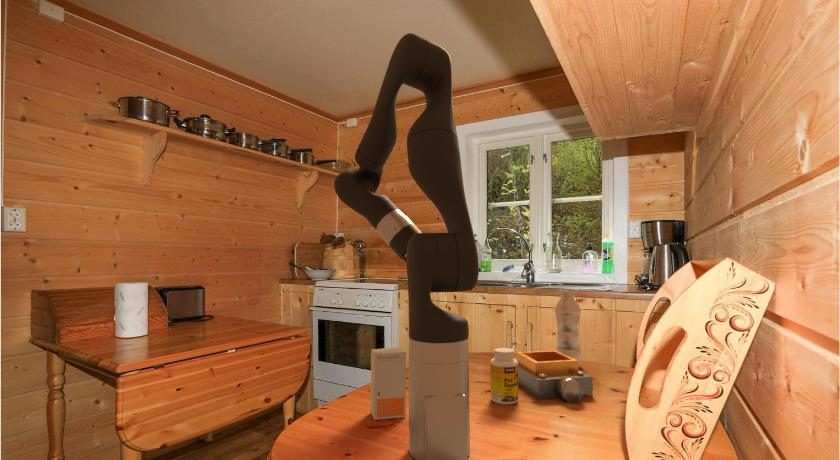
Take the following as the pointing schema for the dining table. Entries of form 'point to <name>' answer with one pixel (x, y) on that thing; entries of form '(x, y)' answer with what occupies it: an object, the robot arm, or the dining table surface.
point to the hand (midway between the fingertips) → (449, 287)
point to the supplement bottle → (504, 377)
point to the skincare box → (388, 383)
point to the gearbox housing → (552, 376)
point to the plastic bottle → (568, 324)
